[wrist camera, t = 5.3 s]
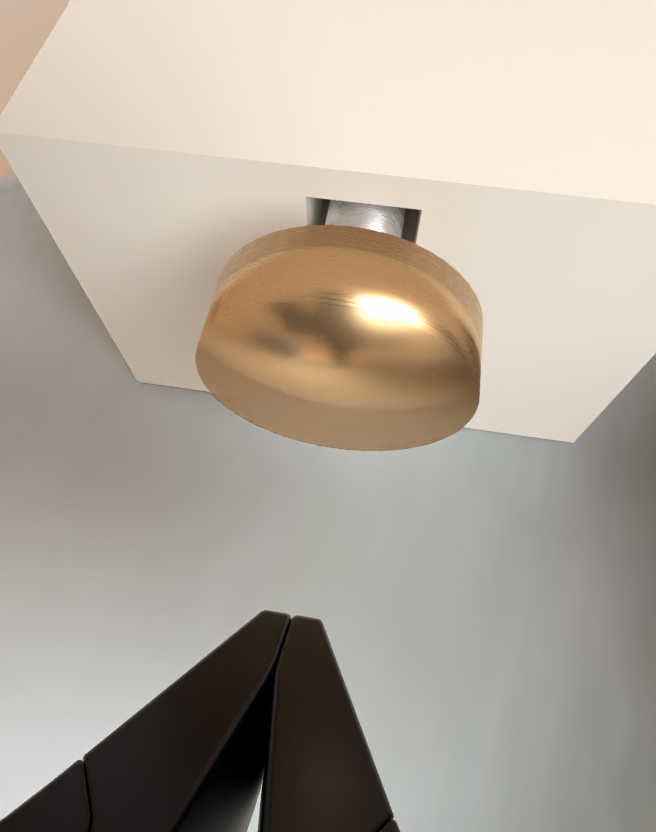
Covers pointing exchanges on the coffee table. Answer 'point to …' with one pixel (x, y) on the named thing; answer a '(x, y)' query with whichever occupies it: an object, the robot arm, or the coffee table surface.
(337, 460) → the coffee table surface
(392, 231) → the plunger
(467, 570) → the coffee table surface
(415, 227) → the press block
